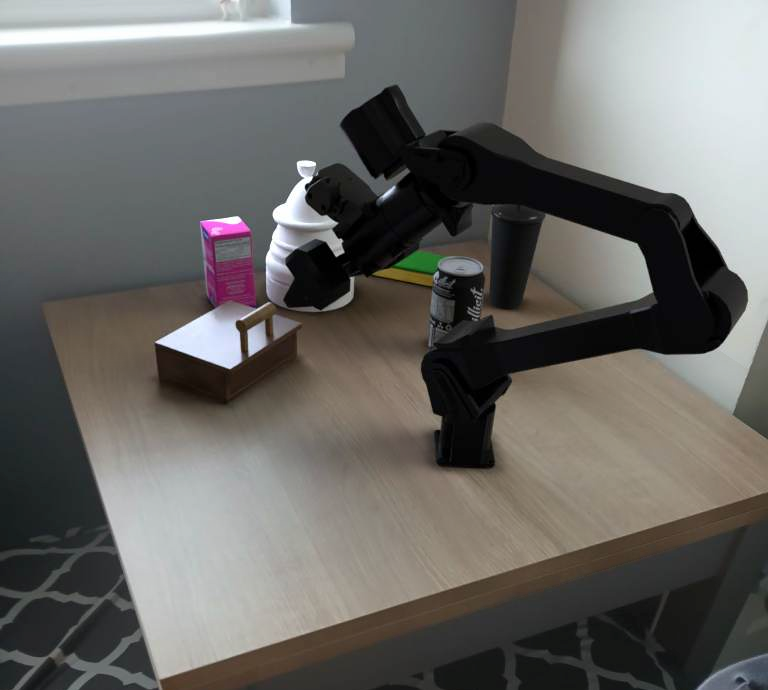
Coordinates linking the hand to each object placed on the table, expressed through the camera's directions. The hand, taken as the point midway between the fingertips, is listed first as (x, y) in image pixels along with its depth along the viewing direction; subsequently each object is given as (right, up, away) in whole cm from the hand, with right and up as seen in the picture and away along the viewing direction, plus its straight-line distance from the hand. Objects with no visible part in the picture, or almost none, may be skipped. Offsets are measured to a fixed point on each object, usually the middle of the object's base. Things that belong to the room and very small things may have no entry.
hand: (310, 289), depth 99 cm
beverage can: (+17, -4, +19) cm, 26 cm away
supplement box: (-14, +5, +27) cm, 31 cm away
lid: (-11, -4, +10) cm, 15 cm away
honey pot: (-3, +7, +31) cm, 32 cm away
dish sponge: (+12, +12, +39) cm, 43 cm away
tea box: (-11, -7, +12) cm, 18 cm away
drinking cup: (+26, +6, +32) cm, 42 cm away
